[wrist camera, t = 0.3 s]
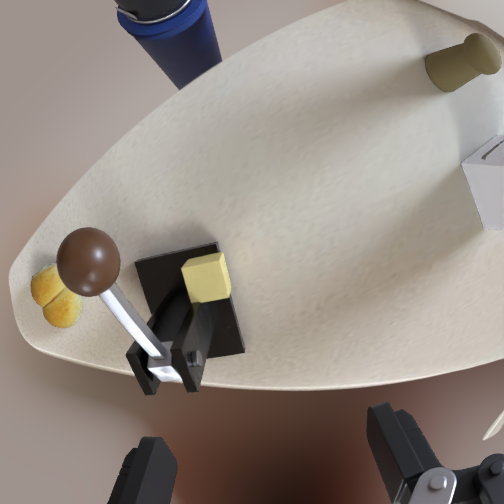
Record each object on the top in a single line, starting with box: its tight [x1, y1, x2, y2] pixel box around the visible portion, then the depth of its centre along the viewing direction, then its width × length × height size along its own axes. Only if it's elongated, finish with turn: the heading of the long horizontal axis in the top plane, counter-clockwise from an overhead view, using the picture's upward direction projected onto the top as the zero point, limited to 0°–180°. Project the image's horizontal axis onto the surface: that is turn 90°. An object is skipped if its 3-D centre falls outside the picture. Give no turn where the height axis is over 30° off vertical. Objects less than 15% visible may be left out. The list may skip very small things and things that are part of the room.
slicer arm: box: [56, 227, 182, 382], centre depth 19 cm, size 15×4×4 cm, turn 12°
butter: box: [181, 252, 231, 303], centre depth 31 cm, size 4×4×4 cm
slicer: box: [126, 242, 245, 395], centre depth 28 cm, size 14×10×14 cm
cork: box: [426, 33, 502, 92], centre depth 22 cm, size 6×6×11 cm
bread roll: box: [31, 263, 83, 328], centre depth 32 cm, size 8×9×4 cm
